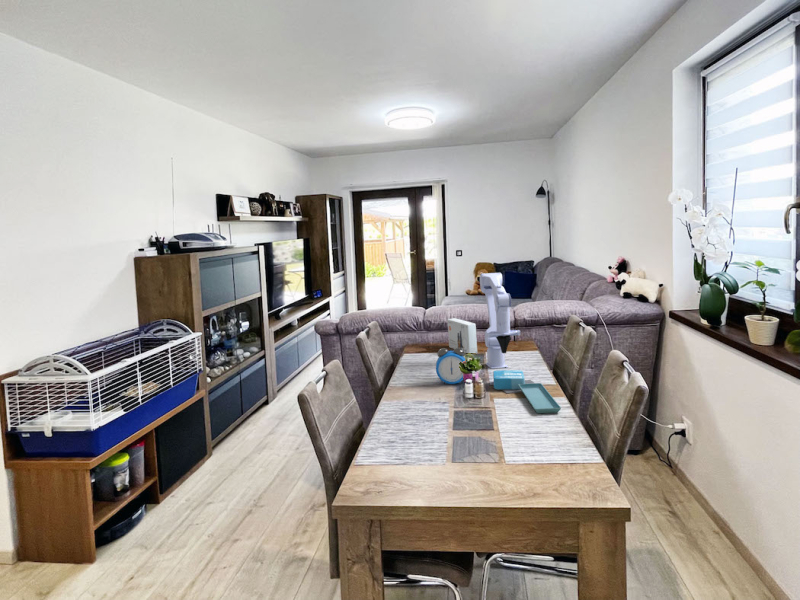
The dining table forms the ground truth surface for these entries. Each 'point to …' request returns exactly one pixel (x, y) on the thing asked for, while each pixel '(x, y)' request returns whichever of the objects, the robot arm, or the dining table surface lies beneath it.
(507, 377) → the data package
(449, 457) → the dining table surface
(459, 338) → the skincare box
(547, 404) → the teal serving tray
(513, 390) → the mat
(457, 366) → the alarm clock
